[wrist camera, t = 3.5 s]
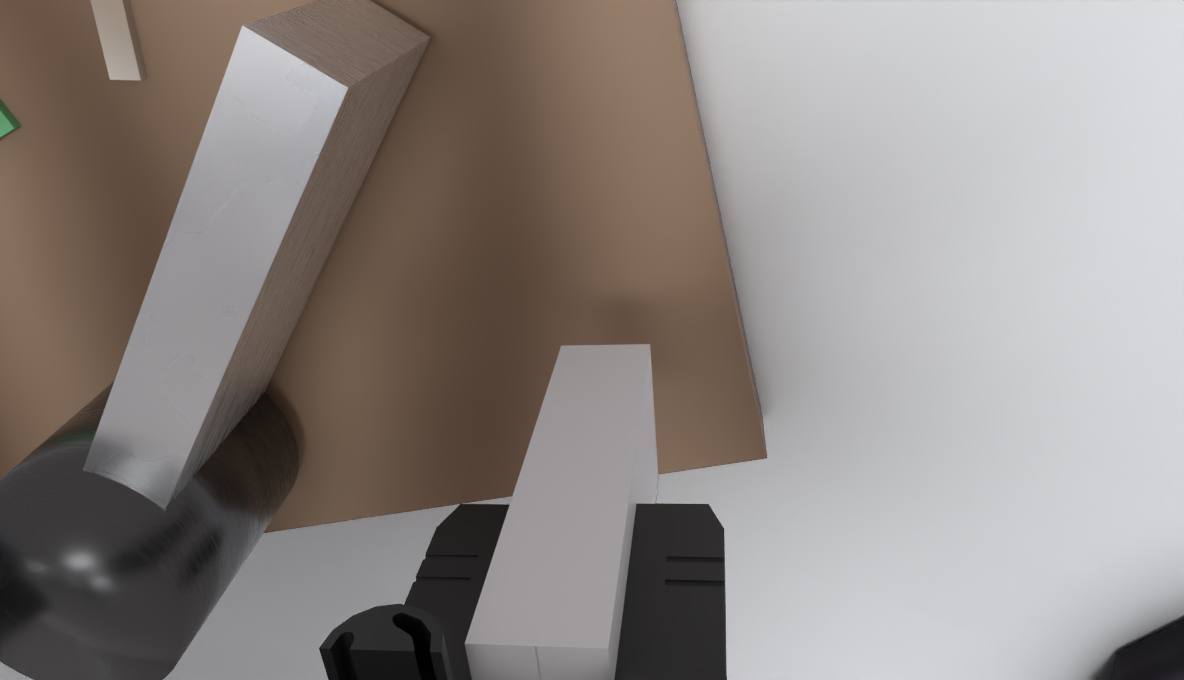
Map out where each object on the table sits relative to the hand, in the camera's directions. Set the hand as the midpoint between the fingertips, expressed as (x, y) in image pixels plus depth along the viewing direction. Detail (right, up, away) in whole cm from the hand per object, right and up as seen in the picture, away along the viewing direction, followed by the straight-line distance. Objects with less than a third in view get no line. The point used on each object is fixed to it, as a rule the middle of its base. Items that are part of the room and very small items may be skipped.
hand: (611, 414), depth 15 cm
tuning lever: (-7, +2, +3) cm, 8 cm away
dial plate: (-10, +3, +4) cm, 11 cm away
